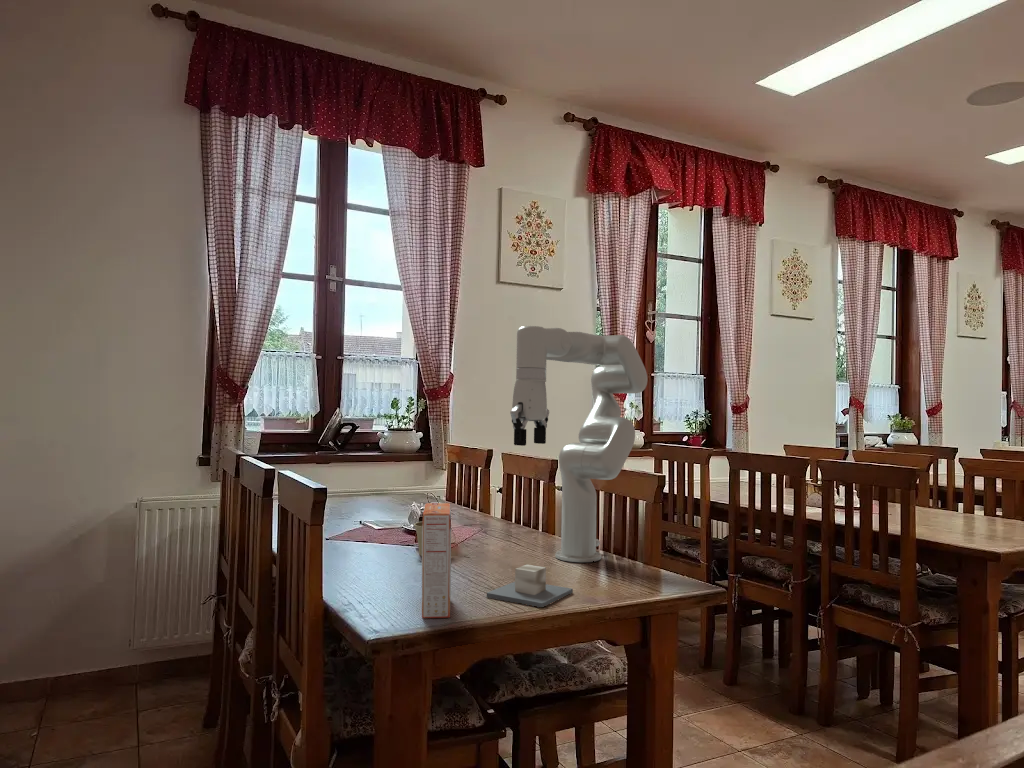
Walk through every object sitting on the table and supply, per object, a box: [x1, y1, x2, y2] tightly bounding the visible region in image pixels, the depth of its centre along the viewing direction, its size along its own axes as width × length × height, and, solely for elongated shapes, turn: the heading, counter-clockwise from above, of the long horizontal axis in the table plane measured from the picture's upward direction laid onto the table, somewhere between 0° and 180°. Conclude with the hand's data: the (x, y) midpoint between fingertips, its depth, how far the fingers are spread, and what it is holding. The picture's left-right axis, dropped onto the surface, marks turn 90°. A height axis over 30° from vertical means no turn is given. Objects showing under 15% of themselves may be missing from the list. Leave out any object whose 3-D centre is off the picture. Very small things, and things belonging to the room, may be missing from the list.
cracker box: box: [421, 502, 452, 619], centre depth 150 cm, size 14×6×21 cm, turn 5°
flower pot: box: [413, 521, 422, 557], centre depth 200 cm, size 9×9×9 cm
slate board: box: [486, 581, 574, 608], centre depth 161 cm, size 14×14×1 cm
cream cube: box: [514, 564, 547, 595], centre depth 161 cm, size 5×5×5 cm
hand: (530, 444), depth 180 cm, fingers open, 9 cm apart
